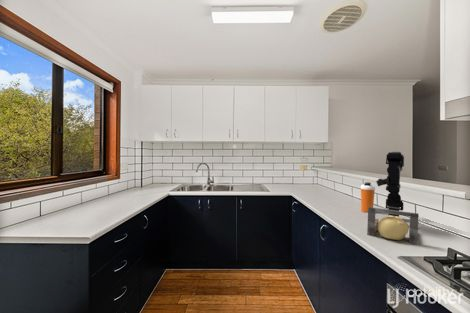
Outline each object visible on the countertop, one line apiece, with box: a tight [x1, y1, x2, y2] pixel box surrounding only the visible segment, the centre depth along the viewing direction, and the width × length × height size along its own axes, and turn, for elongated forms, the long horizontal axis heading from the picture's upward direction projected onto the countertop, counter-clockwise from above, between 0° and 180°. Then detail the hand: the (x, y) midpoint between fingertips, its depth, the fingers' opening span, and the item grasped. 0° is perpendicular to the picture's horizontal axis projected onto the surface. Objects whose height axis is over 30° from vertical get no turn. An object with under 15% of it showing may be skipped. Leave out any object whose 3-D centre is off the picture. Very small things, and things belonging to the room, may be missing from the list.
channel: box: [366, 206, 419, 245], centre depth 124 cm, size 20×20×14 cm
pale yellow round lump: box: [377, 215, 410, 241], centre depth 118 cm, size 12×12×11 cm
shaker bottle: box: [360, 181, 376, 214], centre depth 171 cm, size 9×9×20 cm
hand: (392, 201), depth 140 cm, fingers closed
